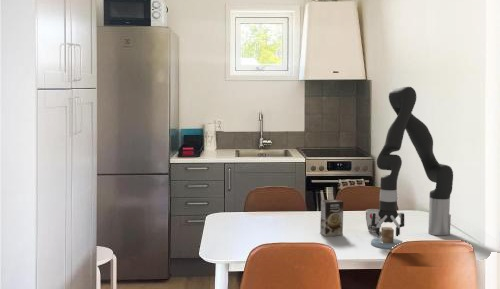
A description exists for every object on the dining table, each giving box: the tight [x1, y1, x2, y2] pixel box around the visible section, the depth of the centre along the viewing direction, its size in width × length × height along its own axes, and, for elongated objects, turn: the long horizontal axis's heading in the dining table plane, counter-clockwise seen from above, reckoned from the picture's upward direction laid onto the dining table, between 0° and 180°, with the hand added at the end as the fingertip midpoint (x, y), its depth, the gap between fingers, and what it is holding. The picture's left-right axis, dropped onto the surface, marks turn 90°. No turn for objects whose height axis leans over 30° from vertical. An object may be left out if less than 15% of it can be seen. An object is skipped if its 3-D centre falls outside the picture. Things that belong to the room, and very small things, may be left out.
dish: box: [370, 237, 404, 250], centre depth 248 cm, size 14×14×1 cm
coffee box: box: [319, 199, 344, 237], centre depth 265 cm, size 9×6×16 cm
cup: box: [365, 208, 382, 233], centre depth 272 cm, size 8×8×10 cm
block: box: [380, 226, 395, 243], centre depth 248 cm, size 4×4×6 cm
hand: (387, 235), depth 248 cm, fingers open, 8 cm apart
